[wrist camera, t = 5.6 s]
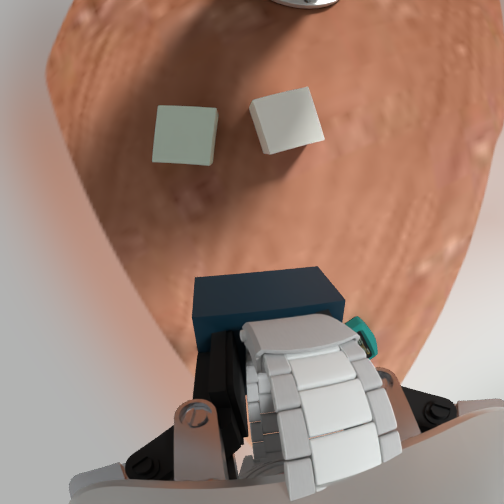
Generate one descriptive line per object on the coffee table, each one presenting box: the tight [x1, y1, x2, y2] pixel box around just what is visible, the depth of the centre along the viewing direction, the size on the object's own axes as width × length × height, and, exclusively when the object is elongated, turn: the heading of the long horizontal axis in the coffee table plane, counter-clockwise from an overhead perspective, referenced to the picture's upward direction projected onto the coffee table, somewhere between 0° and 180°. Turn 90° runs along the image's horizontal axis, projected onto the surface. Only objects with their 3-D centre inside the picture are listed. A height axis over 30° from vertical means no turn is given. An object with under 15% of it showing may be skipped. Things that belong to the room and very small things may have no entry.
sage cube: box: [152, 105, 218, 166], centre depth 25 cm, size 5×5×5 cm
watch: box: [192, 266, 402, 501], centre depth 8 cm, size 6×8×11 cm
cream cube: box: [249, 87, 325, 155], centre depth 25 cm, size 5×5×5 cm
